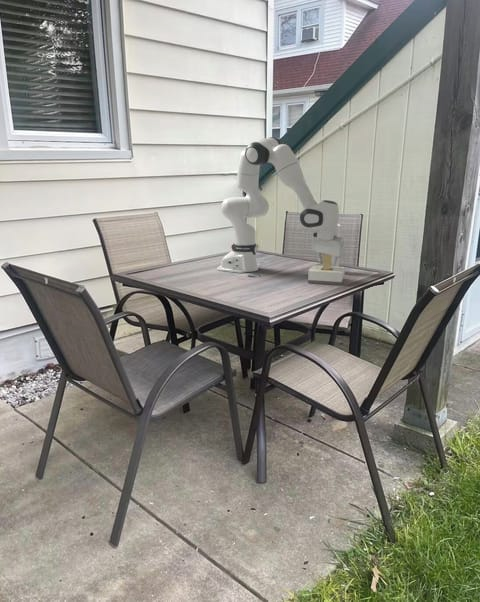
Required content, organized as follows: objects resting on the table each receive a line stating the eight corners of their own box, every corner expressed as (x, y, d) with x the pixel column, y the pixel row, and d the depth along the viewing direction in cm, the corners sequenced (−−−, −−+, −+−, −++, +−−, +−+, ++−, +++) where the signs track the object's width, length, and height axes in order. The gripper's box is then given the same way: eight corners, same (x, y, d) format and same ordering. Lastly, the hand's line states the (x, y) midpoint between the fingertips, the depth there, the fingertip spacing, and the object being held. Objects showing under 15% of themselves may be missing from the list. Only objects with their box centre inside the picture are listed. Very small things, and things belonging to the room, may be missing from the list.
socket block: (308, 282, 232) (308, 270, 231) (312, 276, 244) (312, 265, 243) (341, 285, 228) (342, 272, 226) (344, 278, 240) (344, 267, 238)
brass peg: (322, 278, 234) (323, 254, 231) (322, 276, 238) (323, 253, 234) (330, 279, 233) (331, 254, 230) (330, 277, 237) (331, 253, 234)
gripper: (348, 237, 223) (347, 266, 227) (319, 231, 239) (318, 258, 243) (338, 238, 220) (337, 267, 224) (309, 232, 236) (308, 260, 240)
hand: (327, 263), depth 234 cm, fingers open, 8 cm apart
